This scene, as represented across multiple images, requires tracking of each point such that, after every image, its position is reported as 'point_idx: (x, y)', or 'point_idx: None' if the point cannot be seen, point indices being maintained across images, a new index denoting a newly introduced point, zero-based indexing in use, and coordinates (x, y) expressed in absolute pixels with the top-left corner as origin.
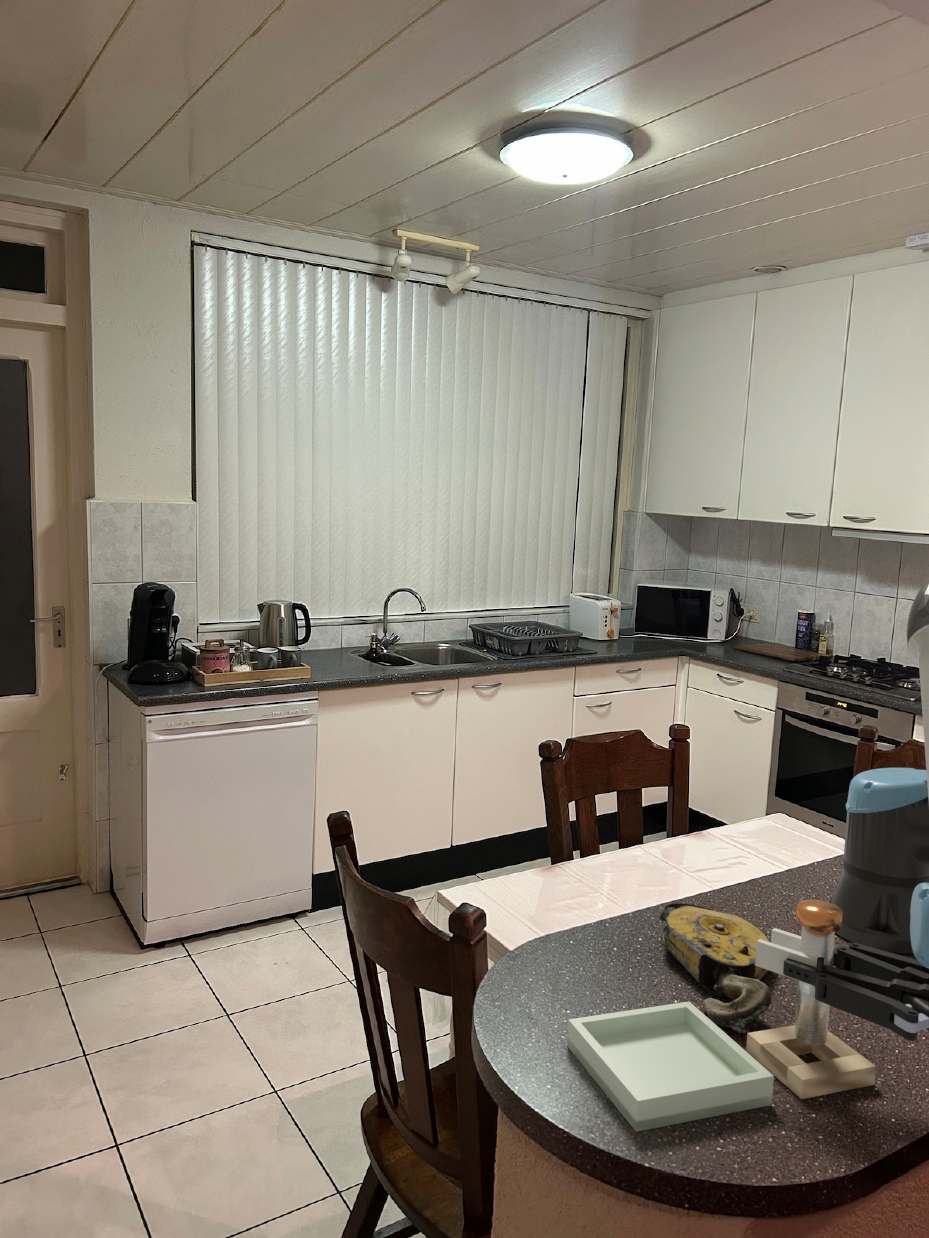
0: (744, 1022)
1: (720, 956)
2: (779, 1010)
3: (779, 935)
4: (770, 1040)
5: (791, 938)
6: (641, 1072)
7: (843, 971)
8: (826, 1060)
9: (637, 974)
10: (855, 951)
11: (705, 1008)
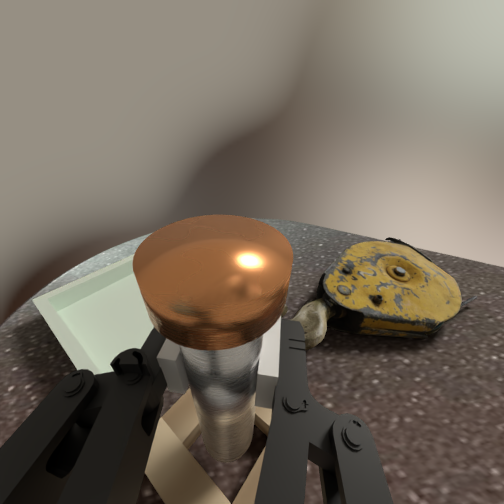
0: None
1: (335, 284)
2: (344, 372)
3: None
4: None
5: None
6: (127, 296)
7: (116, 442)
8: (207, 475)
9: (296, 262)
10: (303, 449)
11: None
